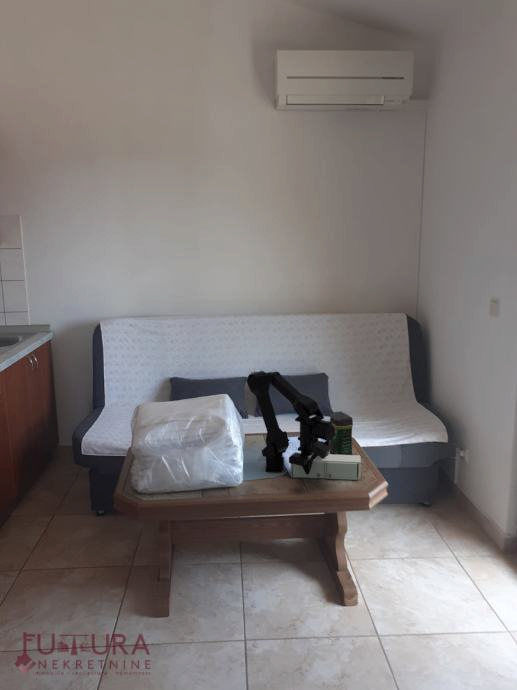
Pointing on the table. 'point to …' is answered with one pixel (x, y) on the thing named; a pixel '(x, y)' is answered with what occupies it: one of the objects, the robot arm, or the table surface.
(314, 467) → the door
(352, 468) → the cabinet
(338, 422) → the coffee jar
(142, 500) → the table surface
